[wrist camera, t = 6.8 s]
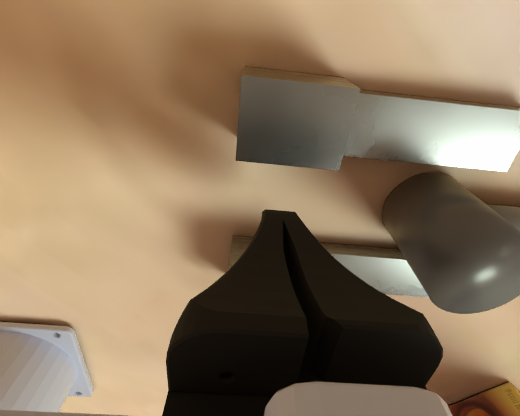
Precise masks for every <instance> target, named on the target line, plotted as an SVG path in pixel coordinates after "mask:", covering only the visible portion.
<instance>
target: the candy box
mask: <svg viewBox="0 0 520 416" xmlns="http://www.w3.org/2000/svg"><path fill="white" fill-rule="evenodd" d="M448 408H449V410H450V412H451V414H452V416H520V392H519V391H518V390H517V389H516V388H515V387H514V386H513V385H512V384H511V383H510V382H508V383H505V384H503V385H500V386H498V387H495V388H492V389H490V390H487V391H485V392H483V393H480V394H478V395H476V396H473V397H471V398H468V399H466V400H464V401H461V402H458V403H456V404H453V405H451V406H449V407H448Z"/></svg>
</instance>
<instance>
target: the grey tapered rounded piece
mask: <svg viewBox="0 0 520 416" xmlns="http://www.w3.org/2000/svg"><path fill="white" fill-rule="evenodd" d="M382 219H383V223H384V225H385V227H386V229H387V230H388V232H389V233H390V235H391V237H392V238H393V240H394V242H395V243H396V245H397V246H398V248H399V250H400V251H401V253H402V254H403V256H404V258H405V259H406V261H407V262H408V264H409V266H410V267H411V269H412V271H413V272H414V274H415V275H416V277H417V279H418V280H419V282H420V283H421V285H422V287H423V288H424V290H425V291H426V293H427V295H428V296H429V298H430V300H431V301H432V302H433V303H434V304H435V305H436V306H437V307H439V308H441V309H443V310H445V311H448V312H452V313H459V314H470V313H478V312H483V311H487V310H491V309H494V308H496V307H499V306H501V305H503V304H506V303H508V302H509V301H511V300H513V299H514V298H516V297H517V296H519V295H520V207H514V206H503V205H491V204H485V203H484V202H483V201H481V200H480V199H479V198H478V197H476V196H475V195H474V194H473V193H471V192H470V191H469V190H468V189H466V188H465V187H464V186H462V185H461V184H460V183H459V182H457V181H456V180H455V179H453V178H452V177H450V176H448V175H446V174H442V173H424V174H419V175H416V176H414V177H411V178H409V179H407V180H405V181H404V182H402V183H401V184H399V185H398V186H397V187H396V188H395V189H394V190H393V191H392V192H391V193H390V195H389V196H388V198H387V199H386V201H385V203H384V206H383V210H382Z"/></svg>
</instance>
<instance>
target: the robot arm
mask: <svg viewBox="0 0 520 416" xmlns="http://www.w3.org/2000/svg"><path fill="white" fill-rule="evenodd" d="M442 357H443V348H442V346H441V344H440V342H439V340H438V338H437V337H436V335H435V333H434V331H433V329H432V328H431V326H430V324H429V323H428V321H427V320H426V318H425V317H424V315H423V314H422V313H420V312H418V311H416V310H414V309H412V308H410V307H408V306H406V305H404V304H402V303H400V302H398V301H396V300H394V299H392V298H390V297H388V296H387V295H385V294H383V293H382V292H380V291H378V290H377V289H375V288H373V287H372V286H370V285H369V284H367V283H366V282H364V281H363V280H362V279H360V278H359V277H357V276H356V275H355V274H353V273H352V272H351V271H349V270H348V269H347V268H346V267H344V266H343V265H342V264H341V263H340V262H339V261H337V260H336V259H335V258H334V257H333V256H332V255H331V254H330V253H329V252H328V251H327V250H326V249H325V248H324V247H323V246H322V245H321V244H320V243H319V242H318V241H317V239H316V238H315V237H314V236H313V235H312V233H311V232H310V231H309V230H308V228H307V227H306V226H305V225H304V223H303V222H302V221H301V219H300V218H299V217H298V215H297V214H296V213H295V212H289V211H277V210H264V211H263V212H262V220H261V223H260V225H259V227H258V230H257V232H256V234H255V236H254V237H253V239H252V241H251V242H250V244H249V246H248V247H247V249H246V250H245V251H244V253H243V254H242V255H241V257H240V258H239V259H238V260H237V262H236V263H235V264H234V265H233V266H232V267H231V268H230V269H229V270H228V271H227V272H226V273H225V274H224V275H223V276H222V277H221V278H219V279H218V280H217V281H216V282H215V283H214V284H212V285H211V286H210V287H209V288H207V289H206V290H204V291H203V292H201V293H200V294H198V295H197V296H196V297H194V298H193V299H191V300H190V301H189V303H188V304H187V306H186V308H185V309H184V311H183V313H182V315H181V317H180V319H179V320H178V323H177V325H176V327H175V329H174V332H173V334H172V337H171V341H170V344H169V348H168V351H167V358H166V366H167V378H168V389H169V391H168V395H167V399H166V403H165V407H164V411H163V415H162V416H452V414H451V412H450V410H449V408H448V406H447V404H446V402H445V401H444V400H443V399H442V398H441V397H440V396H439V395H438V394H437V393H435V392H433V391H429V390H427V388H426V386H425V385H426V384H427V382H428V381H429V379H430V378H431V376H432V375H433V373H434V372H435V370H436V369H437V367H438V366H439V363H440V361H441V359H442ZM93 391H94V389H93V386H92V383H91V380H90V377H89V374H88V371H87V367H86V364H85V361H84V358H83V355H82V352H81V349H80V346H79V343H78V340H77V336H76V333H75V331H74V329H72V328H71V327H68V326H56V325H41V324H26V323H11V322H0V416H126V415H104V414H82V413H61V412H59V411H60V409H61V408H62V406H63V404H64V402H65V400H66V398H67V396H78V397H89V396H91V395H92V393H93Z"/></svg>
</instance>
